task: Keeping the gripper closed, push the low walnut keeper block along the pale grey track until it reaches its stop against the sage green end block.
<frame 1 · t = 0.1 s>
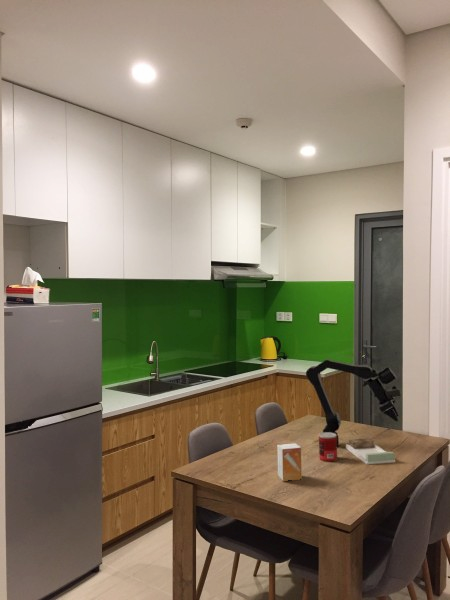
hand: (397, 418, 234), 15 cm above the table, tool tilted 35°, fingers open, 9 cm apart
keeper: (361, 443, 238), point 3 cm above the table, slide at 0.0 cm
small box: (289, 478, 203), on the table
canned food: (328, 459, 225), on the table
track: (369, 454, 230), on the table
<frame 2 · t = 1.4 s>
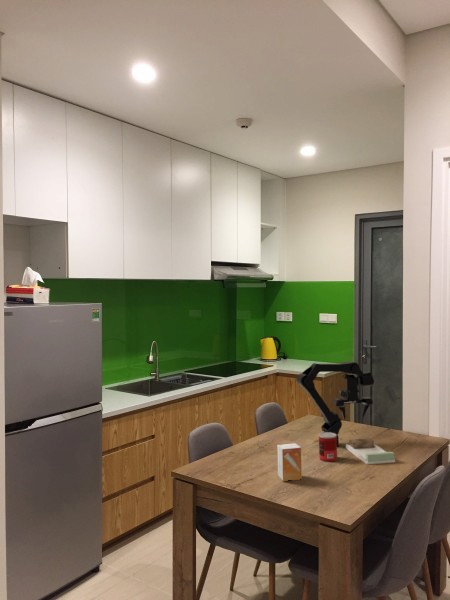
hand: (353, 418, 248), 12 cm above the table, tool pointing down, fingers open, 9 cm apart
nothing on the table moved.
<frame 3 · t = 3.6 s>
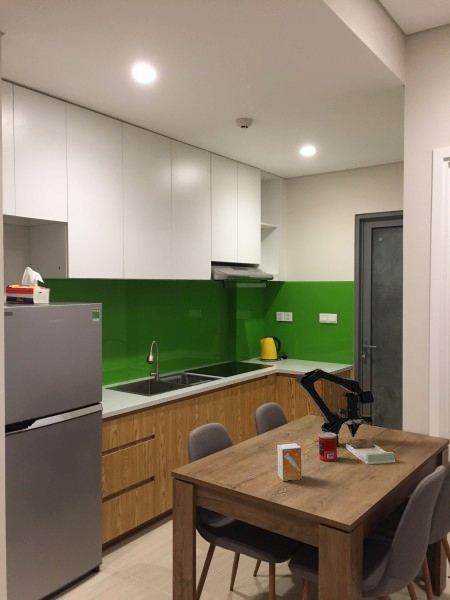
hand: (352, 437, 248), 3 cm above the table, tool pointing down, fingers closed
nothing on the table moved.
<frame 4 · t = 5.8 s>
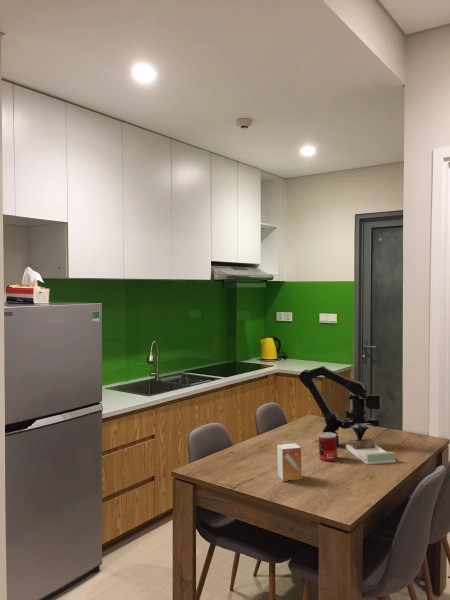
hand: (359, 441, 240), 3 cm above the table, tool pointing down, fingers closed
keeper: (361, 443, 238), point 3 cm above the table, slide at 0.4 cm, touching gripper
everything else where it was.
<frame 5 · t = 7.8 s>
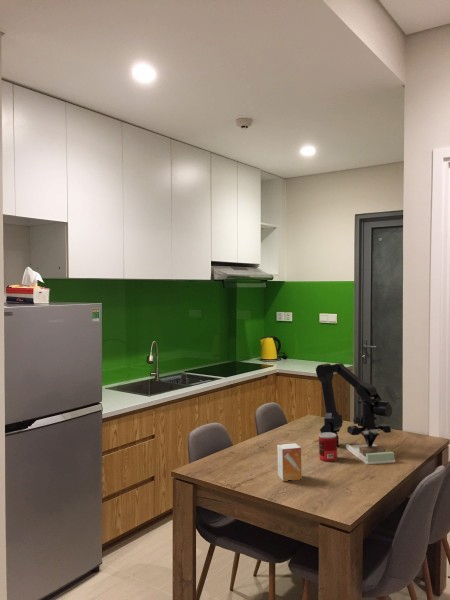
hand: (369, 448, 229), 3 cm above the table, tool pointing down, fingers closed, pressing on keeper
keeper: (372, 450, 226), point 3 cm above the table, slide at 11.7 cm, touching gripper
everything else where it was.
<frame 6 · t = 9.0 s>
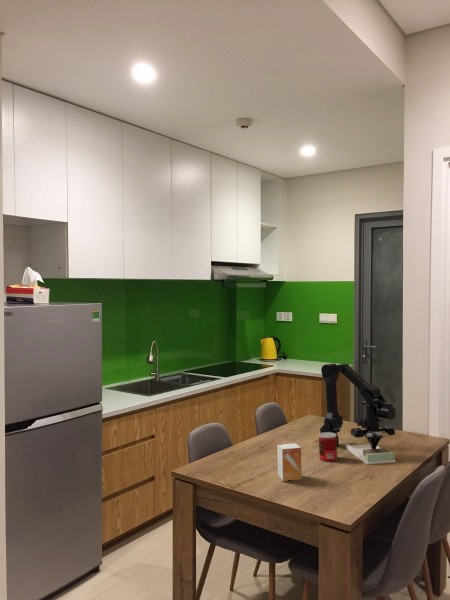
hand: (373, 450, 225), 3 cm above the table, tool pointing down, fingers closed, pressing on keeper
keeper: (376, 453, 222), point 3 cm above the table, slide at 15.6 cm, touching gripper
everything else where it was.
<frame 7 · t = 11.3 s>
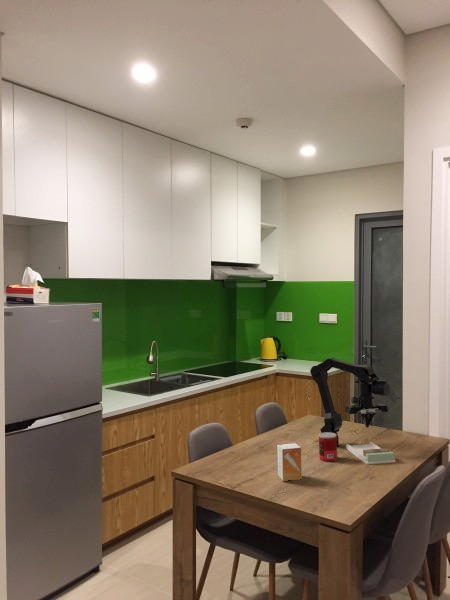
hand: (367, 427, 232), 12 cm above the table, tool pointing down, fingers closed
keeper: (376, 453, 222), point 3 cm above the table, slide at 15.9 cm
everything else where it was.
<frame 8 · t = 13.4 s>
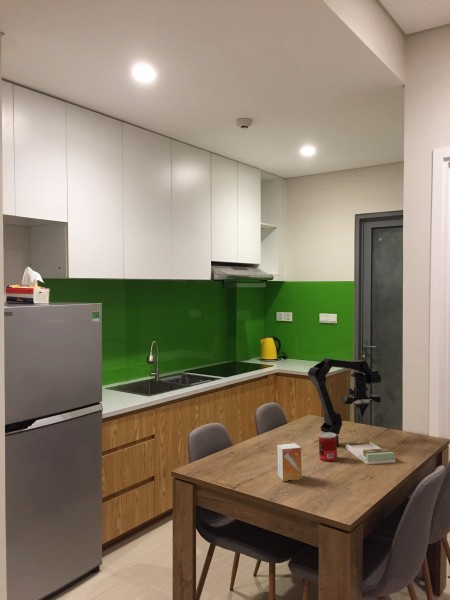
hand: (361, 416, 252), 12 cm above the table, tool pointing down, fingers closed
nothing on the table moved.
at the end: keeper slide at 15.9 cm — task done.
